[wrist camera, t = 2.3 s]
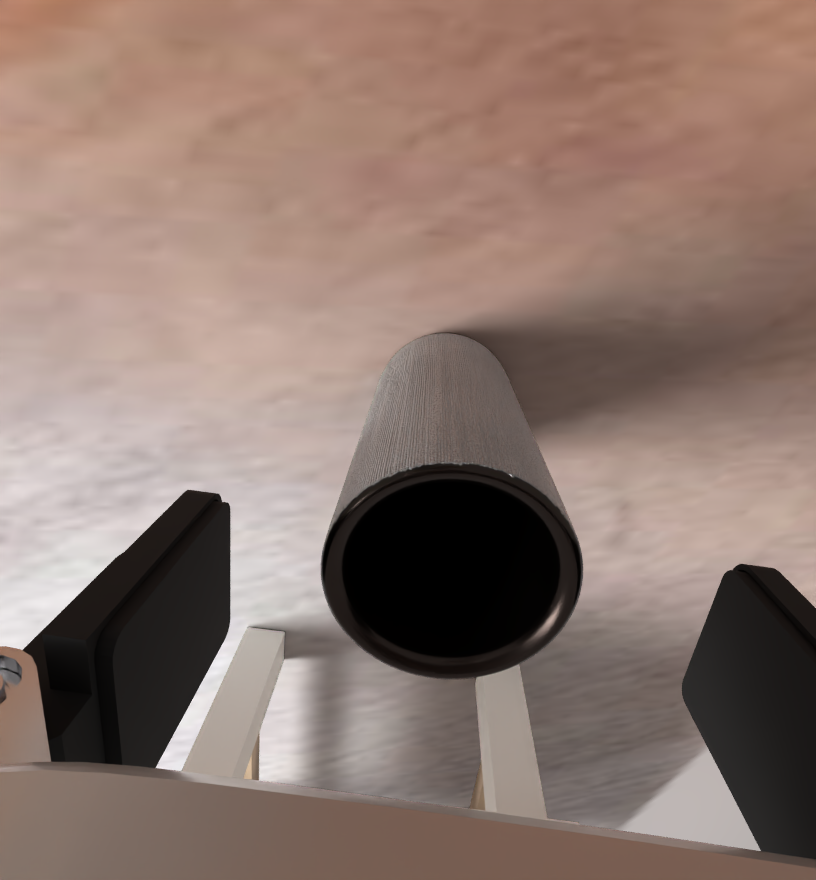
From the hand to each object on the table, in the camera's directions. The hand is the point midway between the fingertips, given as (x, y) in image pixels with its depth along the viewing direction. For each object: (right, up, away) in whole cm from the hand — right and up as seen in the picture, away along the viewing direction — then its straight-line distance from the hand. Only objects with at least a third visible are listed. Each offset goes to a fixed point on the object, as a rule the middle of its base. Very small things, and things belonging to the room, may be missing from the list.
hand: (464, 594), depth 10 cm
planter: (0, +5, +9) cm, 10 cm away
